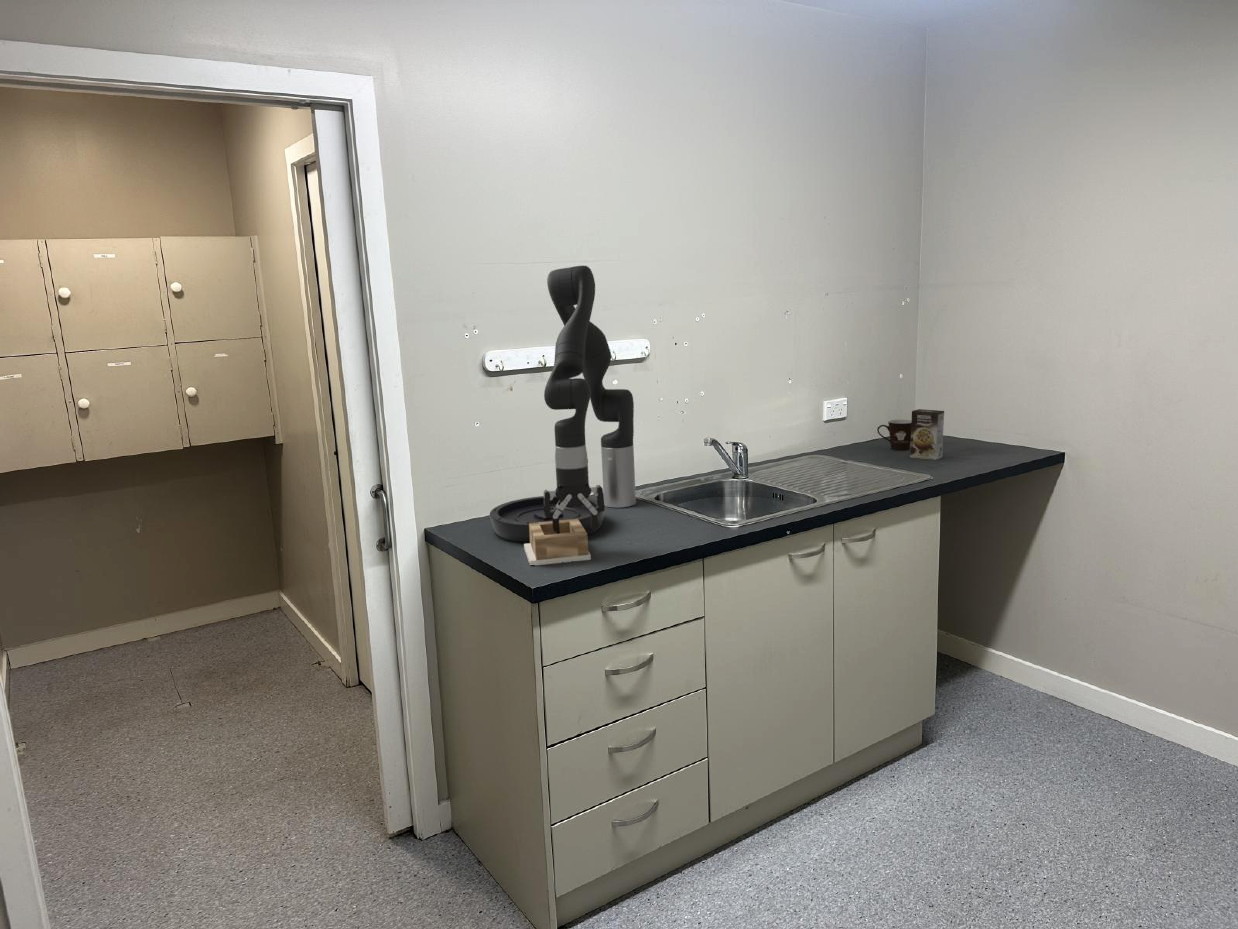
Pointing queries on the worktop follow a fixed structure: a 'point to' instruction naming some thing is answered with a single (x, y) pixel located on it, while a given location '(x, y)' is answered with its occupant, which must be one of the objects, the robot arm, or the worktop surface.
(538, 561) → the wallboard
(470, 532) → the worktop surface
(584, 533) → the frame
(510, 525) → the round tray
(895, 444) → the coffee mug
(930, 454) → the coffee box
